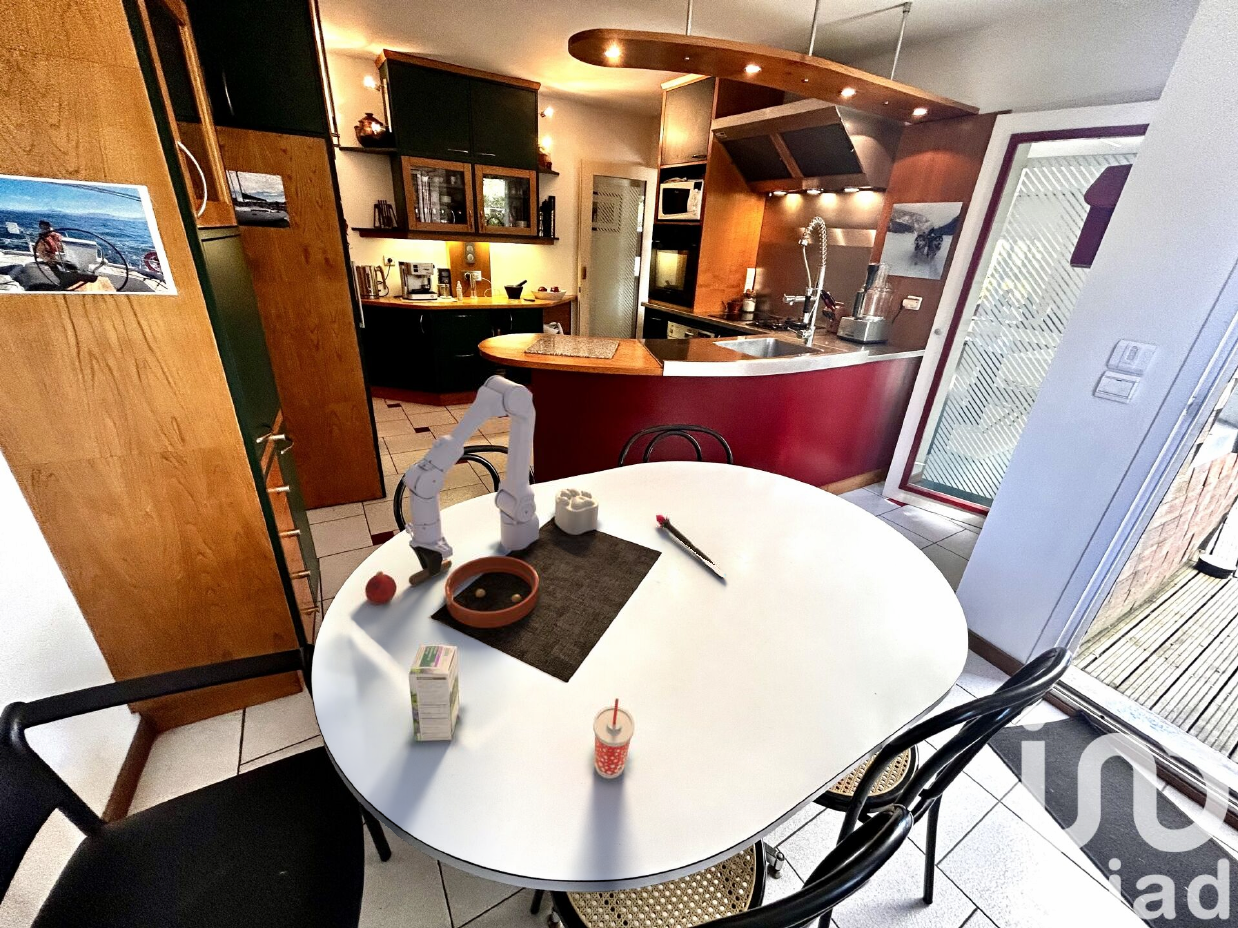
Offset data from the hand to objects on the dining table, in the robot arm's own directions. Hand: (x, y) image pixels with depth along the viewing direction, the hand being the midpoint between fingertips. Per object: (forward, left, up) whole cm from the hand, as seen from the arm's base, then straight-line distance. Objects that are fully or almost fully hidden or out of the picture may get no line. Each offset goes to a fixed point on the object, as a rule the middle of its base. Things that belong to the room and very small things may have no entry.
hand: (431, 570), depth 110 cm
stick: (0, 0, -1) cm, 1 cm away
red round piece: (+11, -1, -3) cm, 11 cm away
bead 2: (-8, +20, -1) cm, 21 cm away
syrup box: (+20, +32, -3) cm, 38 cm away
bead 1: (-4, +13, -1) cm, 13 cm away
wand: (-53, +36, -3) cm, 64 cm away
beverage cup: (+7, +57, -3) cm, 58 cm away
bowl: (-5, +15, -3) cm, 16 cm away
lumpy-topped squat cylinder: (-42, +5, -3) cm, 42 cm away
